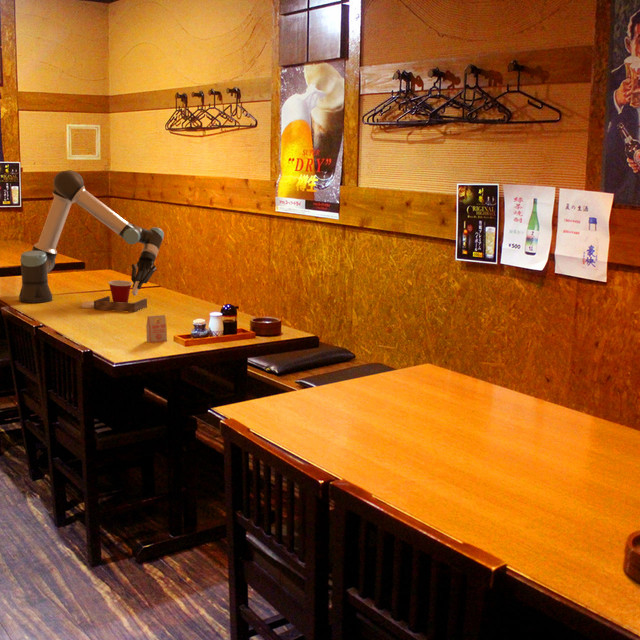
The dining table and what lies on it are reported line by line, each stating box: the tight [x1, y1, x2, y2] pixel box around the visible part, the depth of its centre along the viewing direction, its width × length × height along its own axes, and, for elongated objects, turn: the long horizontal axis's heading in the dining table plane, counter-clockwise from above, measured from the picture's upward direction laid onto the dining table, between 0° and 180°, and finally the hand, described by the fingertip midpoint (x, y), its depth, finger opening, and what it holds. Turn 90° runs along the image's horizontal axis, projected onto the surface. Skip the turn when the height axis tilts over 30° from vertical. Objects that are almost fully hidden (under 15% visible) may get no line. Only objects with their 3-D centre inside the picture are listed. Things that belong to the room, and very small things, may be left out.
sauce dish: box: [80, 301, 94, 309], centre depth 354 cm, size 8×8×2 cm
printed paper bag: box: [145, 314, 168, 344], centre depth 291 cm, size 4×7×10 cm, turn 120°
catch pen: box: [93, 295, 148, 313], centre depth 352 cm, size 20×13×4 cm, turn 77°
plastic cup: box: [107, 279, 133, 303], centre depth 354 cm, size 11×11×12 cm
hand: (134, 293), depth 364 cm, fingers closed
